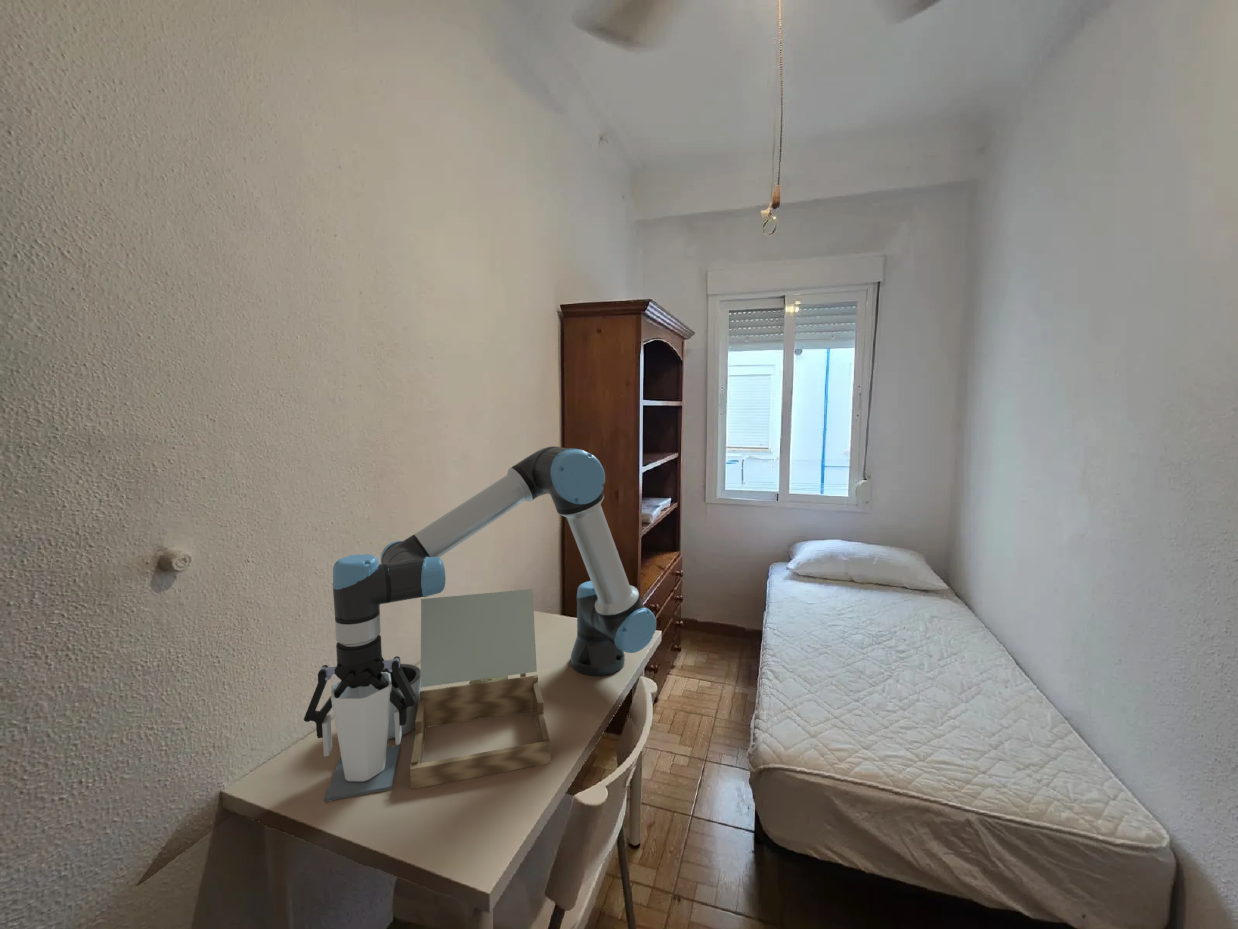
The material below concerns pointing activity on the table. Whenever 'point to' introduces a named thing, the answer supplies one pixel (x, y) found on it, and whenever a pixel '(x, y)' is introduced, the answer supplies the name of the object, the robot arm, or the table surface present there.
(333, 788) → the mat
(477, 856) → the table surface
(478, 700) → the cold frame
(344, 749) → the cup
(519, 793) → the table surface
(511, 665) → the lid
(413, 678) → the planter
